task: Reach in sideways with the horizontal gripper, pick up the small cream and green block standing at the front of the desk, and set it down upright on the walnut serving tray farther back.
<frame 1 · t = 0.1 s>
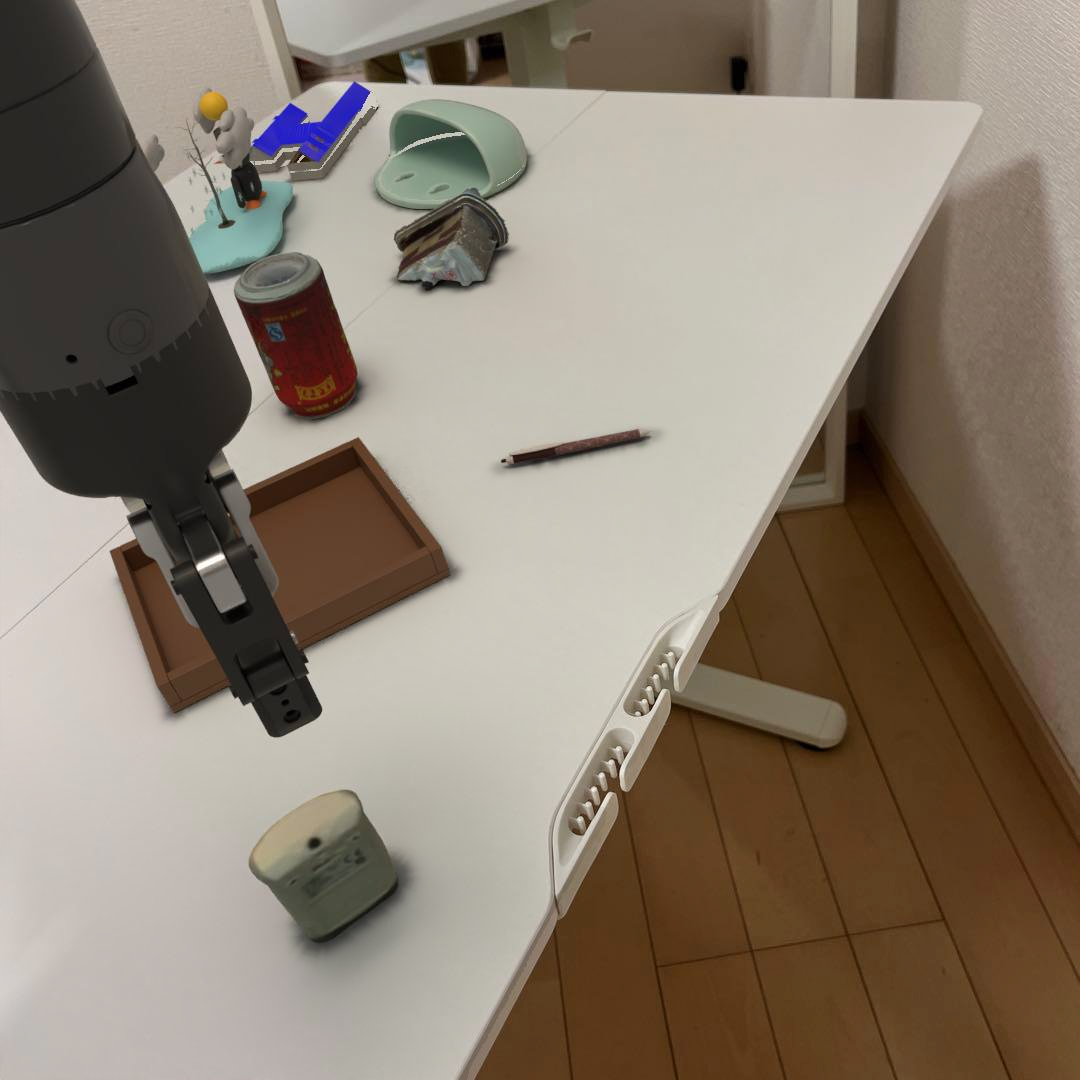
hand: (265, 654, 45), 18 cm above the table, tool pointing down, fingers open, 8 cm apart
building model: (311, 146, 137), on the table
soda can: (324, 400, 93), on the table
pen: (577, 452, 81), on the table
tray: (281, 575, 77), on the table
penguin figurine: (246, 236, 120), on the table
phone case: (141, 363, 104), on the table
chocolate cake: (445, 273, 106), on the table
cream and green block: (349, 910, 57), on the table
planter: (452, 175, 122), on the table
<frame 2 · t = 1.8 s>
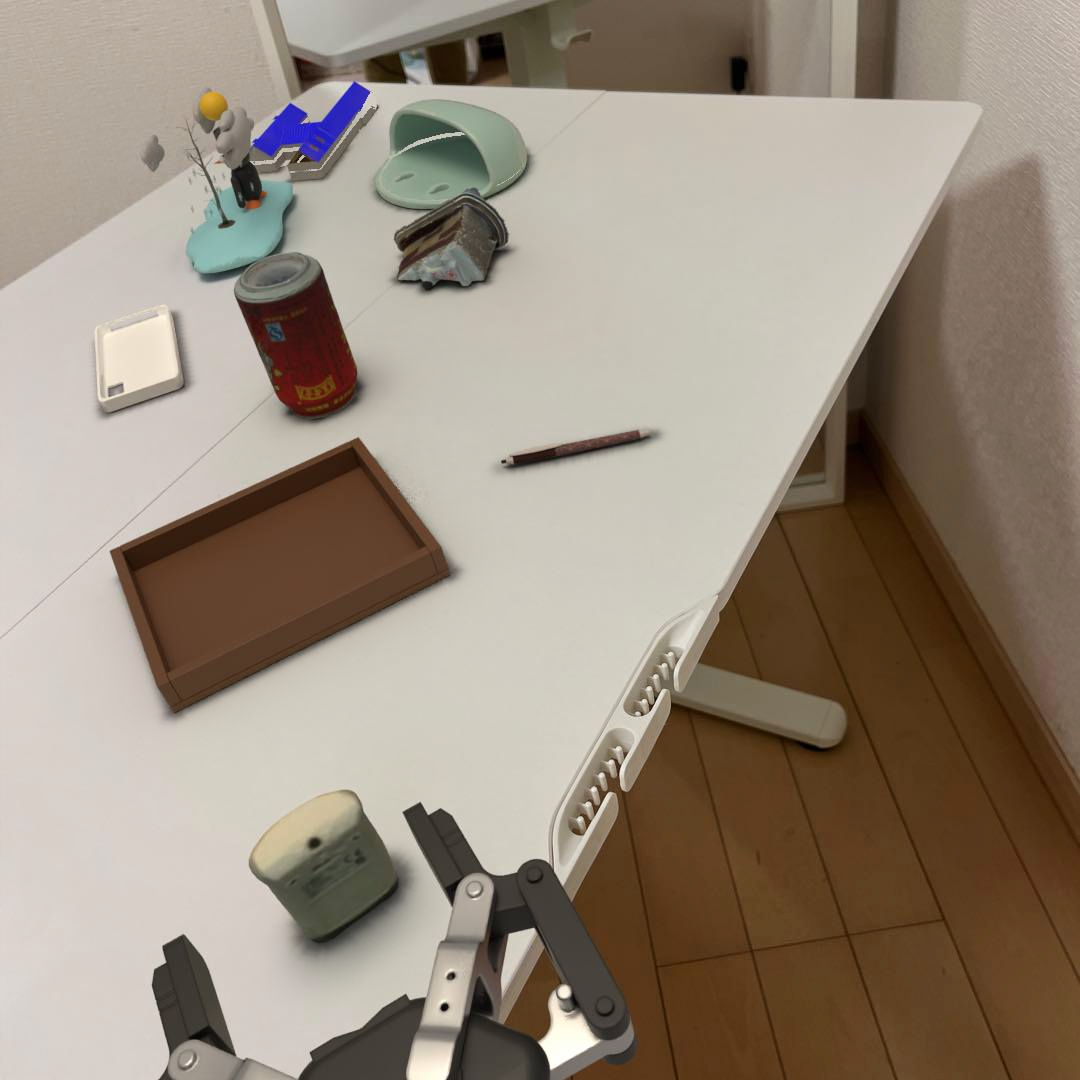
hand: (302, 883, 37), 18 cm above the table, tool horizontal, fingers open, 8 cm apart
nothing on the table moved.
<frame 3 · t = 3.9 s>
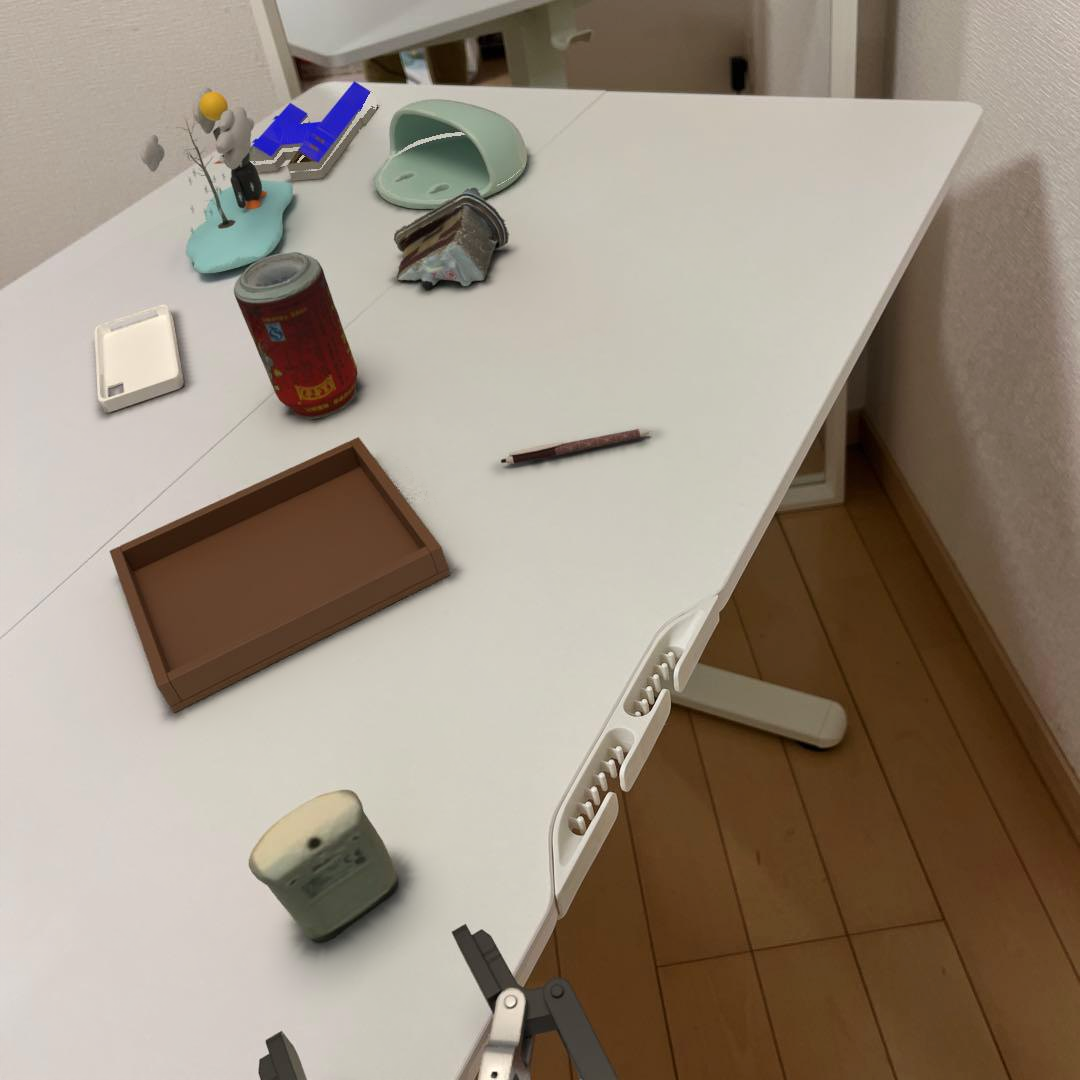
hand: (372, 988, 47), 6 cm above the table, tool horizontal, fingers open, 8 cm apart
nothing on the table moved.
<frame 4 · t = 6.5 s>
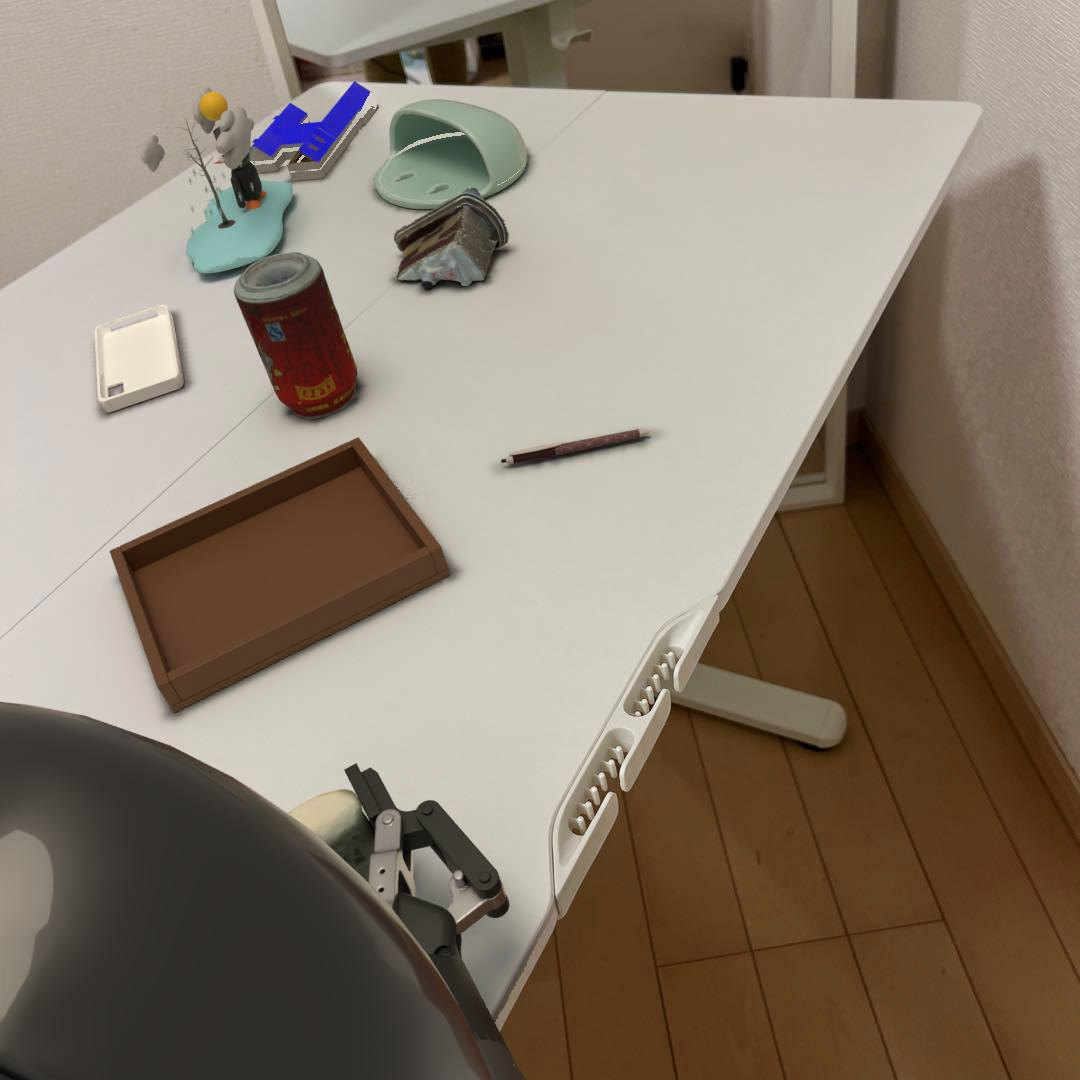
hand: (295, 808, 54), 6 cm above the table, tool horizontal, fingers closed on cream and green block, 5 cm apart
cream and green block: (349, 910, 57), on the table, touching gripper
everything else where it was.
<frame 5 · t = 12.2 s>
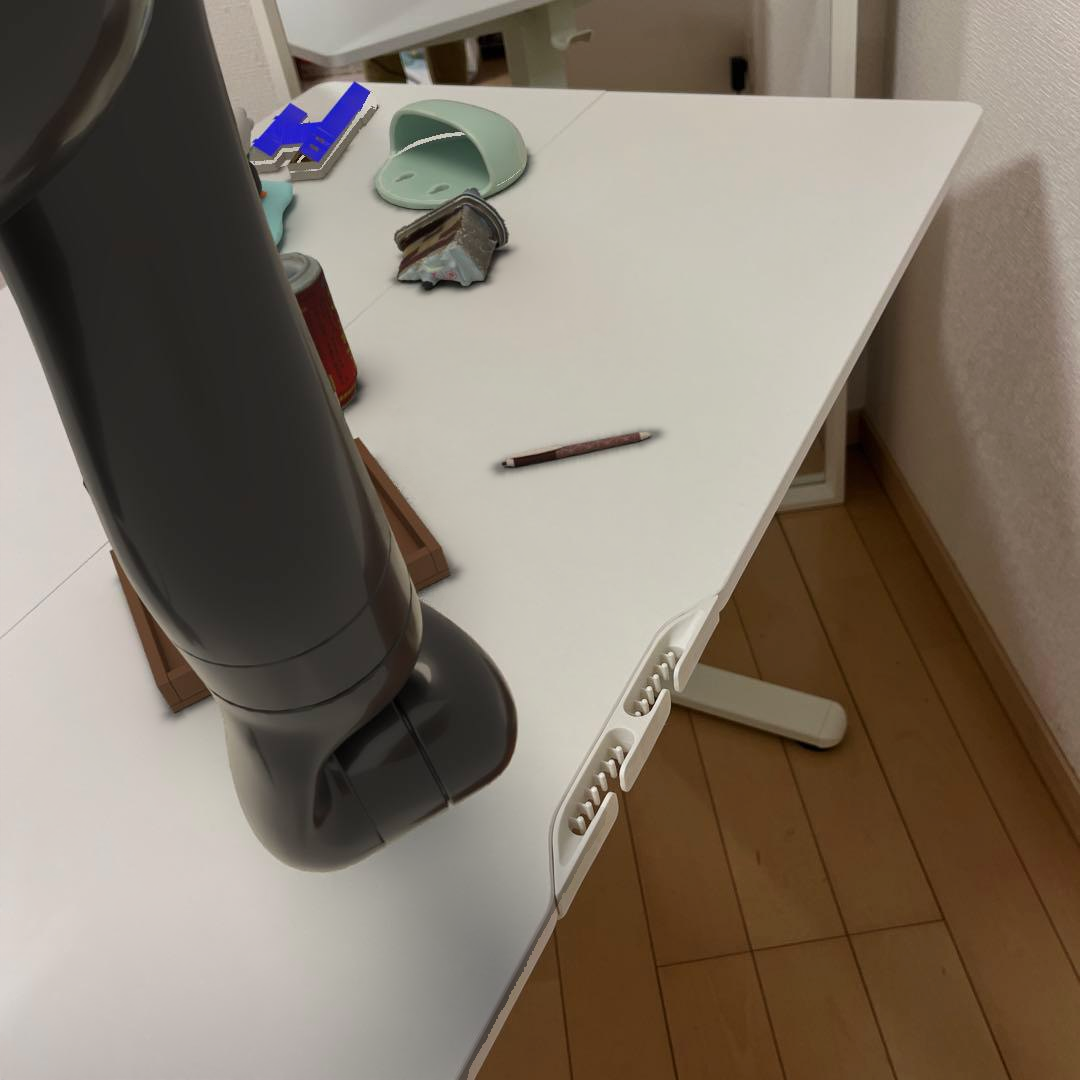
hand: (178, 371, 65), 18 cm above the table, tool horizontal, fingers closed on cream and green block, 5 cm apart
cream and green block: (227, 473, 67), point 11 cm above the table, touching gripper
everything else where it was.
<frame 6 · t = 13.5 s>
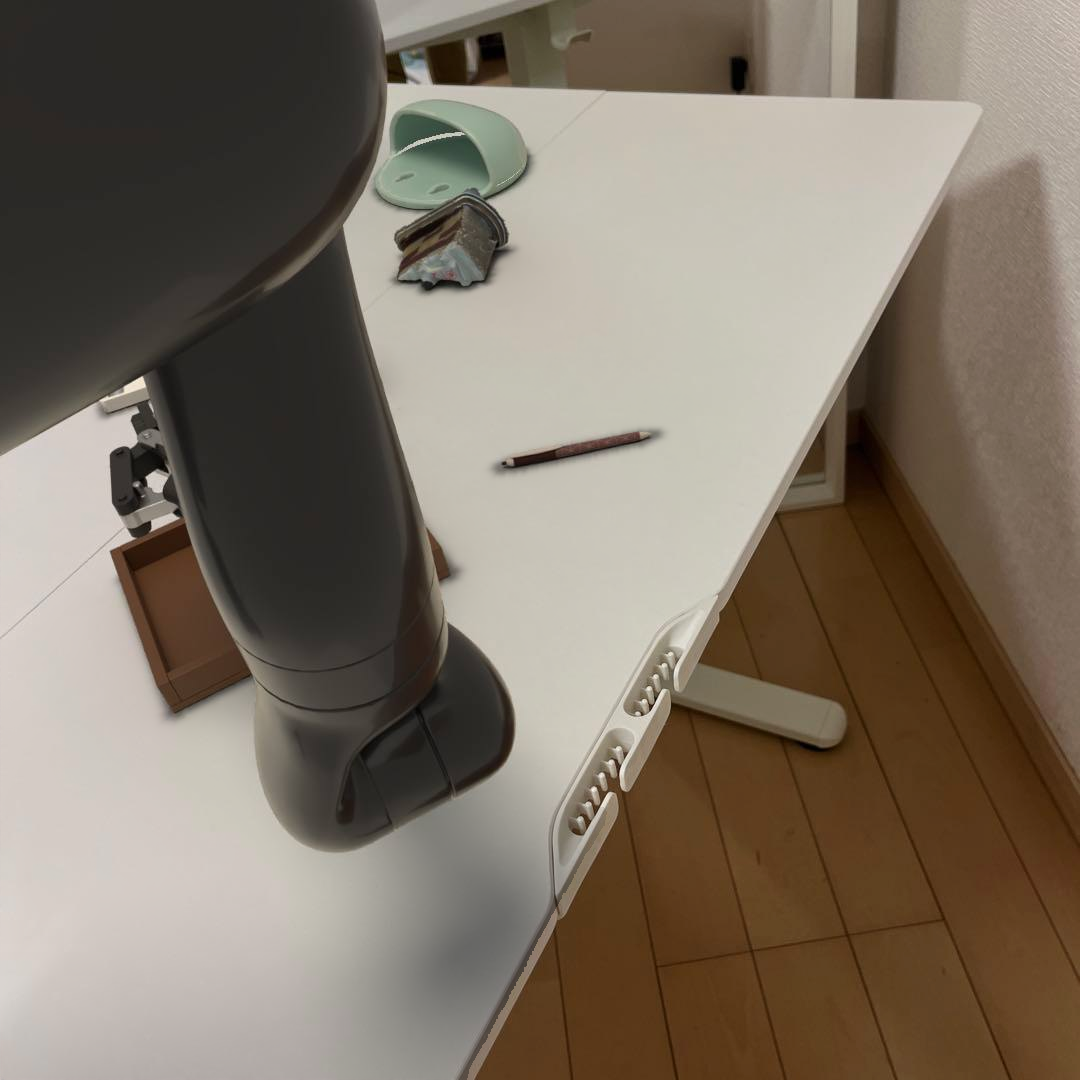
hand: (195, 394, 69), 14 cm above the table, tool horizontal, fingers closed on cream and green block, 5 cm apart
cream and green block: (241, 489, 72), point 8 cm above the table, touching gripper
everything else where it was.
when the fingers open (7 cm above the table, at t = 16.1 s): cream and green block stays where it is, resting on tray.
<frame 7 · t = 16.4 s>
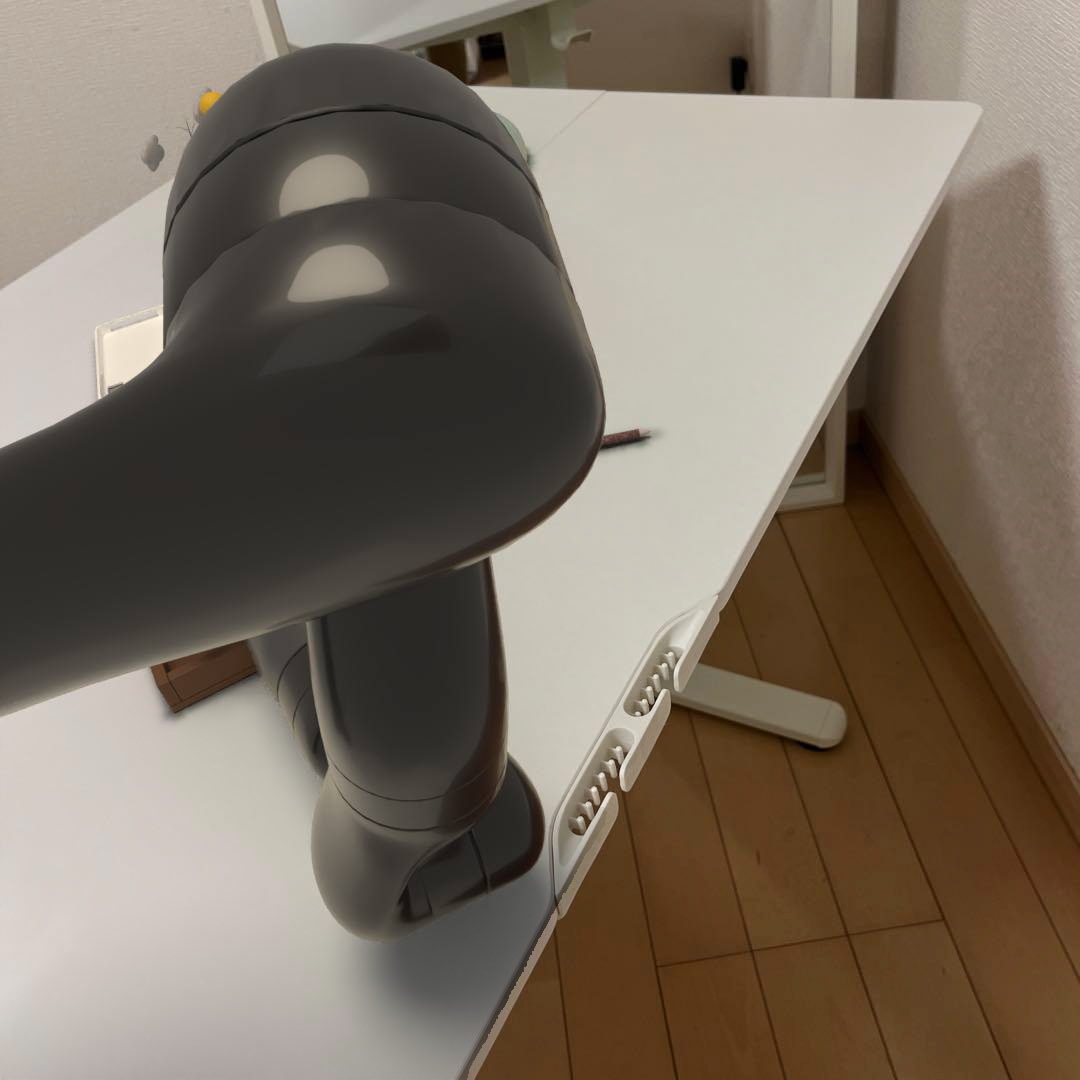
hand: (236, 486, 74), 7 cm above the table, tool horizontal, fingers open, 8 cm apart
cream and green block: (278, 572, 77), resting on tray
everything else where it was.
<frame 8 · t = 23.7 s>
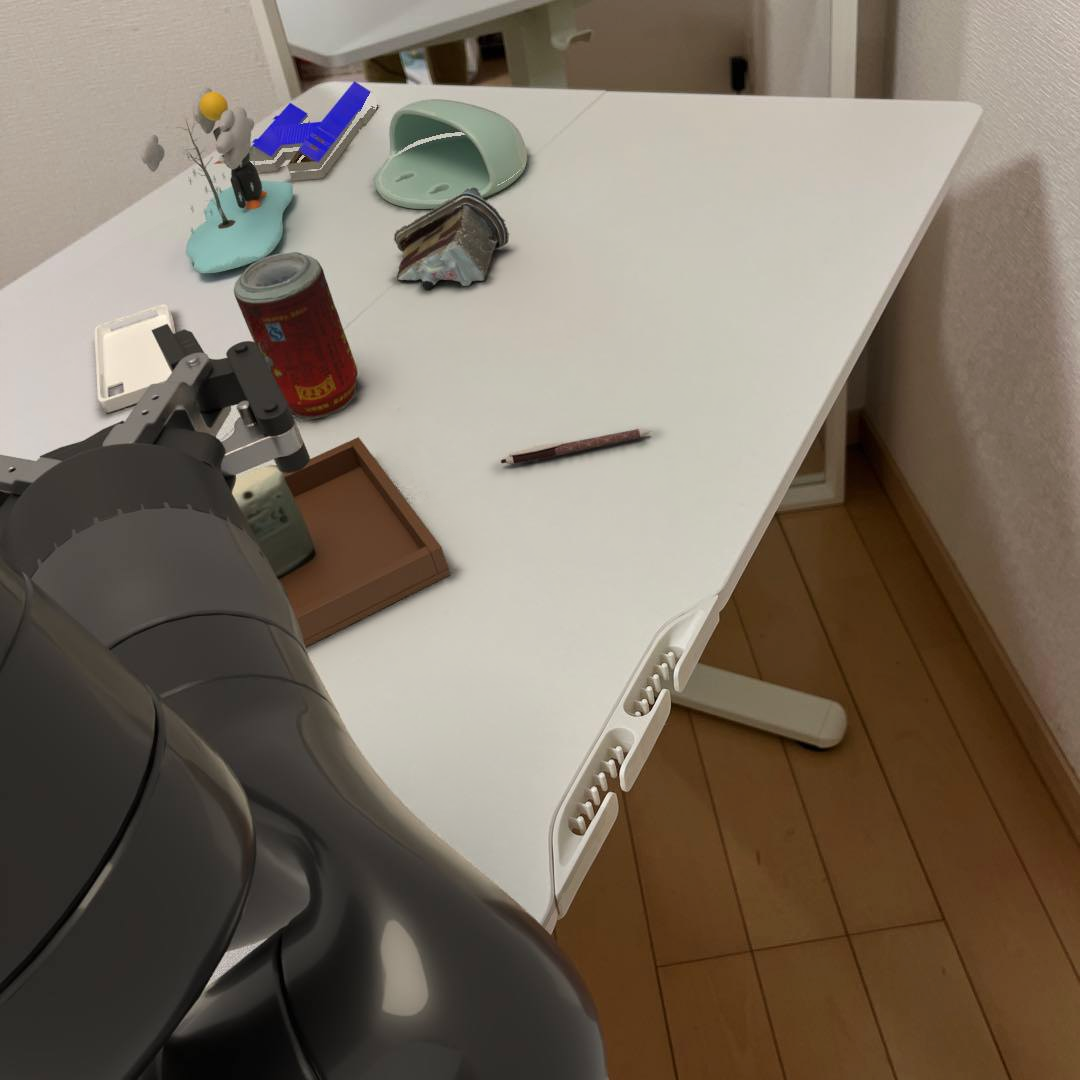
hand: (67, 387, 45), 28 cm above the table, tool horizontal, fingers open, 8 cm apart
nothing on the table moved.
at the end: cream and green block inside the target area in the tray (0.1 cm from its centre), point 0.4 cm above the tray's base; cream and green block tilted 0°; the gripper is holding nothing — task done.
